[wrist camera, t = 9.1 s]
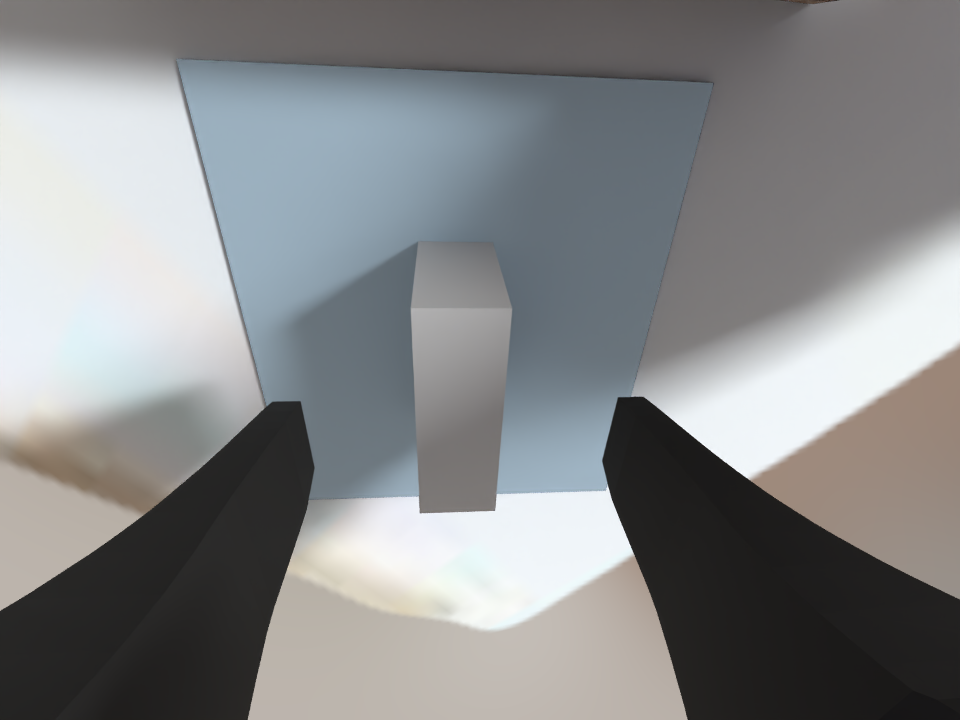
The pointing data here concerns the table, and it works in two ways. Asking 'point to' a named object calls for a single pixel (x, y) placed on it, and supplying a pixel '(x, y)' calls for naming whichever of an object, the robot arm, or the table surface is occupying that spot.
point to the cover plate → (453, 180)
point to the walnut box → (809, 1)
